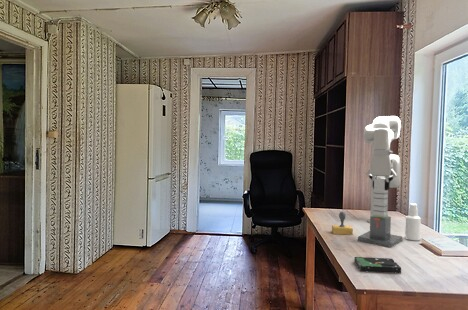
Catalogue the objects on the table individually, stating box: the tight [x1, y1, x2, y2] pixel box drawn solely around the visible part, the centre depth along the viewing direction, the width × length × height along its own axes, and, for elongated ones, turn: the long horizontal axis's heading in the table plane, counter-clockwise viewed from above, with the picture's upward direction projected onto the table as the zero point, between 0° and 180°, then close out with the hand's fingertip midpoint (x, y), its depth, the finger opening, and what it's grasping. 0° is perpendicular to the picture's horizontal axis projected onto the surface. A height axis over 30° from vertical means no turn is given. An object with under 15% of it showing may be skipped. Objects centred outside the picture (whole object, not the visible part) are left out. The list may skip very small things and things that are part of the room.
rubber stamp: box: [331, 211, 354, 236], centre depth 178 cm, size 10×6×12 cm, turn 84°
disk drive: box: [354, 256, 402, 274], centre depth 128 cm, size 10×3×15 cm
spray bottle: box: [405, 202, 422, 241], centre depth 168 cm, size 7×7×18 cm
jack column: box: [373, 178, 389, 219], centre depth 164 cm, size 5×5×22 cm
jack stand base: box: [357, 215, 403, 248], centre depth 165 cm, size 16×16×12 cm
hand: (380, 189), depth 164 cm, fingers closed on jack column, 5 cm apart
